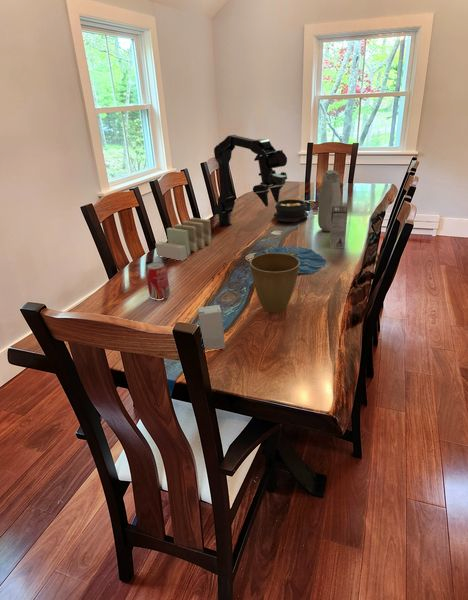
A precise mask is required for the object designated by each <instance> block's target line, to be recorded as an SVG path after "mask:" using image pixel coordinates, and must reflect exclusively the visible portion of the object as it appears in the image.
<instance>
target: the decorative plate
mask: <svg viewBox="0 0 468 600" xmlns="http://www.w3.org/2000/svg"><path fill="white" fill-rule="evenodd" d="M266 253H283V254H288V255H292V256H294V257H296V258H297V259H298V260H299V261H300V264H299V269H298V274H307V275H308V274H315V273H316V272H318V271H319V270H322V268H324V267H325V266H326V263H327V260H326V258H324V257H323V256H322V255H320V254H319V253H316V252H315V251H314V250H313V249H311V248H308V247H302V246H296V245H295V246H294V245H290V246H286V245H285V246H278V247H274V248H271V247H270V248H268V249H265V250H264V249H263V250H260V251H257V252H256V253H254V254H253V257H252V258H254V257H255V256H258V255H261V254H266Z"/></svg>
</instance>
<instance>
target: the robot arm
mask: <svg viewBox="0 0 468 600" xmlns="http://www.w3.org/2000/svg"><path fill="white" fill-rule="evenodd" d="M236 147H240V148H244V149H248V150H250V151H251V152H252V153H253V154H256V156H255V157H254V162H256V161H257V162H258V168H259V173H258V176H259V177H260V179H261V182H260V183H259V184H256V185H254V186H253V187H252V192H253V193H255V195H256V196H258V198H259V199H260V200H261V202H262V204H263V205H264V206H265V207H269V199H268V194H269V192H270V193H271V194H272V197H273V199H274V202H275V203H276V204H277V202H279V201H280V200H279V198H280V192H281V189H282V188H283V187H284V185H285V184H286V180H287V179H288V176H287V175H288V174H287V172H286V171H282V172H280V173H277V172H276V170H275V169H276V168H281V167H282V168H283V167H285V166H287V164H288V158H287V155H286V154H285V153H284V152H283V149H279V150H276V148H275V146H273V144H272V143H271V141H270V139H266V138H265V139H262V138H261V139H252V138H249V137H248V138H247V137H243V136H239V135H236V134H230V135H227V136H226V137H225V138H224V140H222V141H221V142H219V143H218V144H216V145H215V146H214V149H213V154H214V159H215V161H216V163H217V164H218V175H219V177H218V179H219V190H220V191H219V192H220V193H219V196H218V197H217V205H216V206H215V208H214V209H213V211H214V214H215V215H218V221H217V225H218V226H219V227H225V226H232V223H231V220H230V219H231V218H230V213H232V212H233V210H234V208H235V205H236V202H235V199H236V198H235V196H234V195H232V193H231V184H230V183H231V181H230V166H229V165H230V164H229V163H230V161H231V159H232V153H233V151H234V150H235V148H236ZM269 189H270V190H269Z"/></svg>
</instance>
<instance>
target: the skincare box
mask: <svg viewBox="0 0 468 600" xmlns="http://www.w3.org/2000/svg"><path fill="white" fill-rule="evenodd" d="M197 314H198V315H197V316H198V320H199V329H200V328H201V330H200V333H201V332H202V337H203V342H204V347H205V351H206V350H210V349H219V348H225V349H226V342H225V333H224V322H223V312H222V310H221V307H220V304H215V305H209V306H201V307H200V306H199V307H197ZM202 337H201V338H202Z"/></svg>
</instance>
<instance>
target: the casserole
mask: <svg viewBox="0 0 468 600" xmlns="http://www.w3.org/2000/svg"><path fill="white" fill-rule="evenodd" d="M274 208H275V209H276V212H274V213H273V217H274V218H275V220H276V221H279V222H284V223H285V222H286V223H287V222H288V223H289V222H290V223H292V222H298V221H300V220H302V219H305V218H307V217H308V216H309V213H308V212H307V211H306V210H307V208H308V205H307V204H306V202H305V201H304V200H301V199H284V200H278V202H277V203H276V205H275V206H274Z"/></svg>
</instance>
